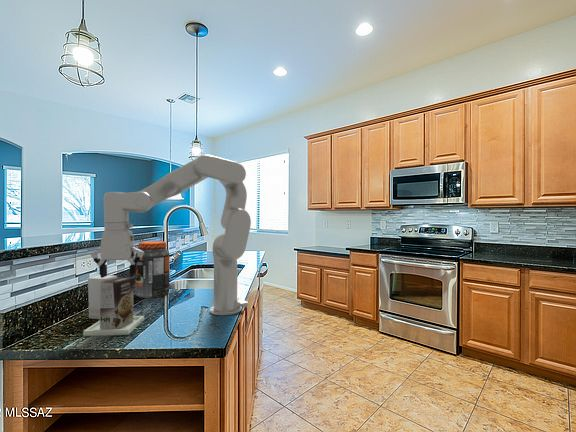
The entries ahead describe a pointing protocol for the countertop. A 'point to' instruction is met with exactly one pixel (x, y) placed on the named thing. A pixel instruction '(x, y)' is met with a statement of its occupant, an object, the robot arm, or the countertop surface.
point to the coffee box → (116, 303)
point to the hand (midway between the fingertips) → (118, 276)
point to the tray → (125, 330)
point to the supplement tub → (152, 270)
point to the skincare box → (96, 294)
